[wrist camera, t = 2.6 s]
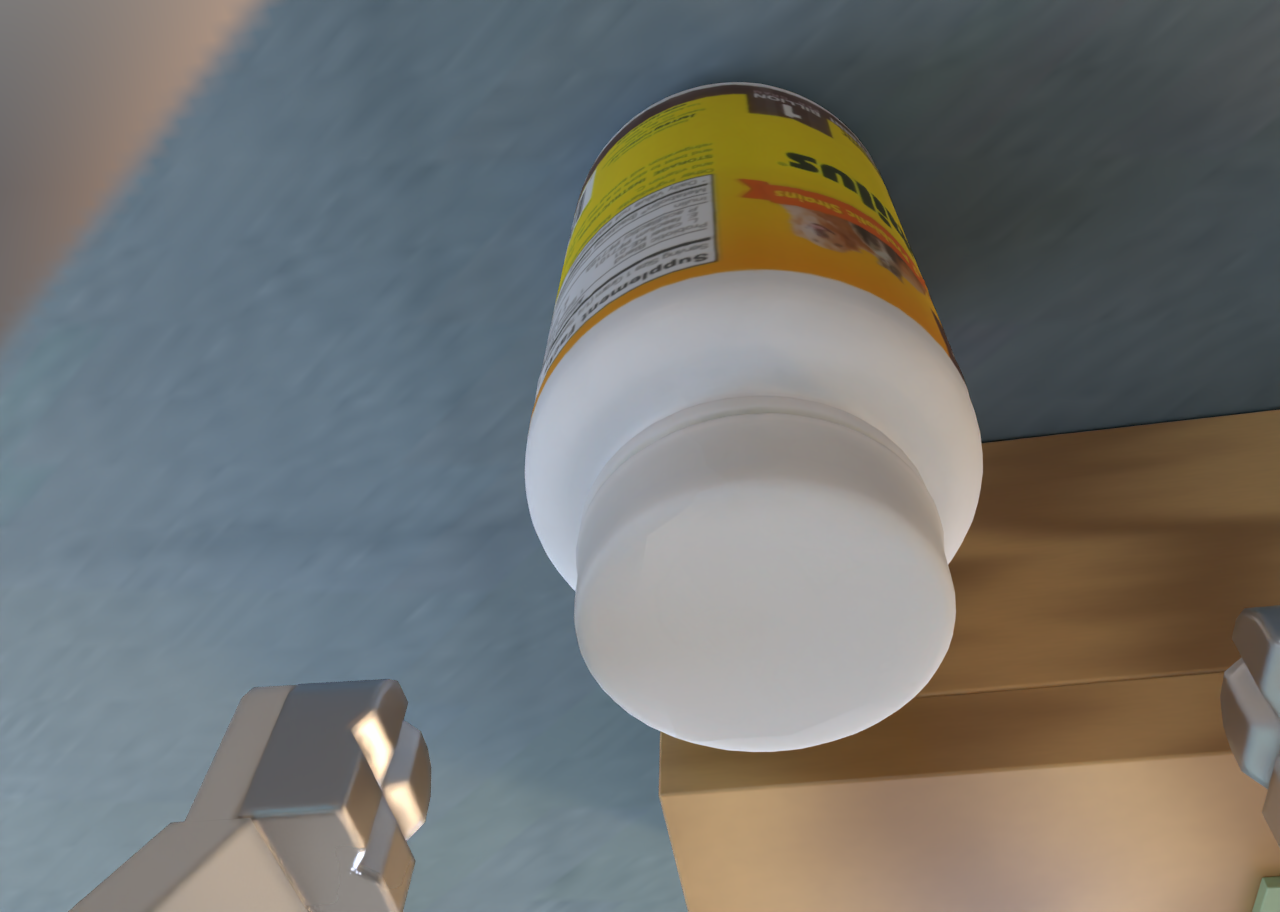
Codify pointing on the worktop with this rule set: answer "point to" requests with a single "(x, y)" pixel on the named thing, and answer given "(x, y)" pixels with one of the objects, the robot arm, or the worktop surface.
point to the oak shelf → (1036, 708)
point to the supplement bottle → (750, 429)
